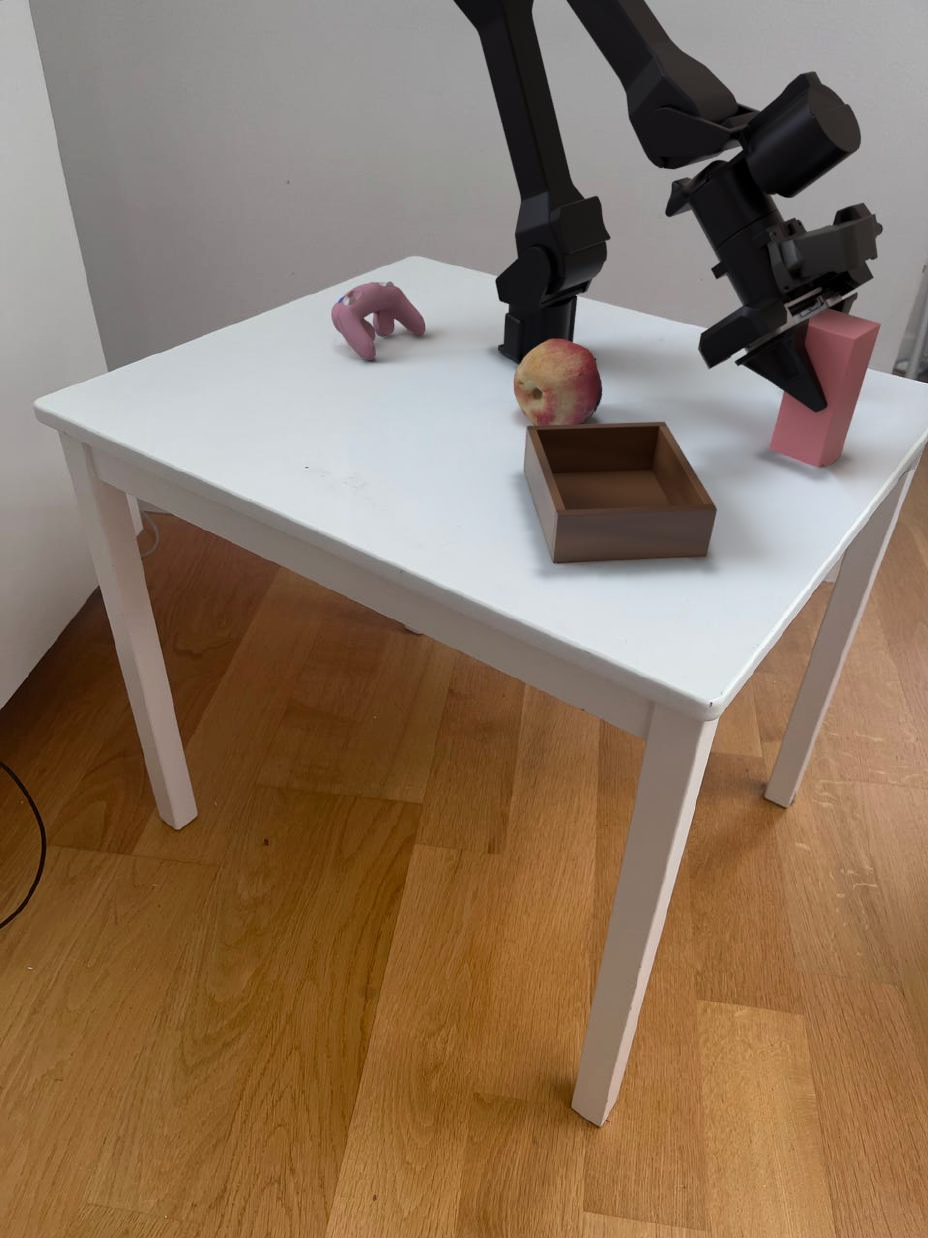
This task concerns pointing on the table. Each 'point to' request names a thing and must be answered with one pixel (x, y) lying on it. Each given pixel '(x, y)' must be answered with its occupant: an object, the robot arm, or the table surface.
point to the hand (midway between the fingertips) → (835, 400)
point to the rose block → (827, 388)
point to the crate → (616, 493)
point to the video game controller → (374, 315)
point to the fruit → (558, 384)
